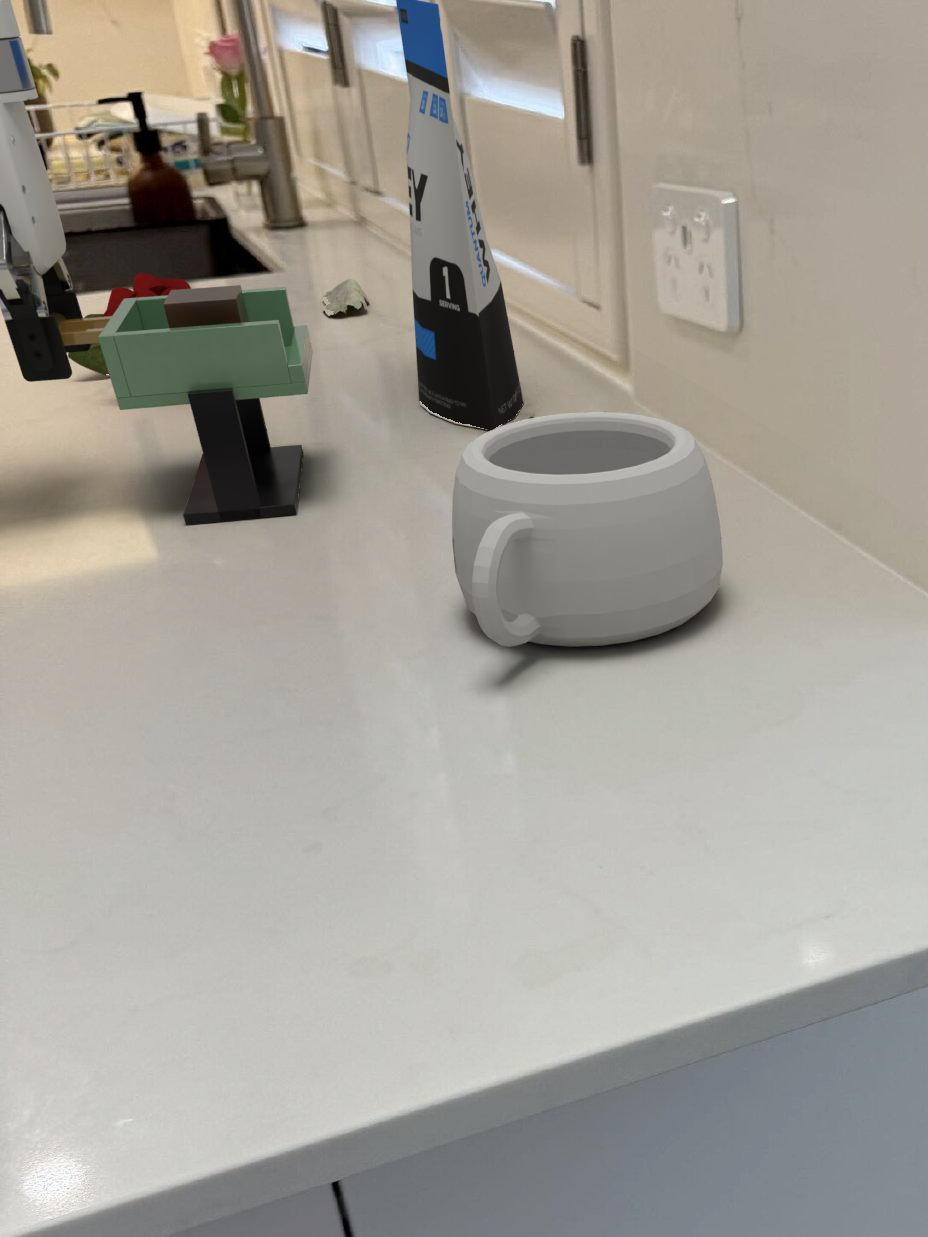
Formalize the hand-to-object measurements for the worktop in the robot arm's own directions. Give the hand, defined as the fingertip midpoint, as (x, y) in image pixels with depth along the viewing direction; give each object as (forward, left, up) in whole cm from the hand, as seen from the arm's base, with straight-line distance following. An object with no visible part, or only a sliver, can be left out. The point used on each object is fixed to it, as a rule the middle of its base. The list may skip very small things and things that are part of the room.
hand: (59, 363), depth 98 cm
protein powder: (+30, +21, -10) cm, 38 cm away
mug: (+33, -33, -10) cm, 48 cm away
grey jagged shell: (+18, +66, -10) cm, 69 cm away
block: (+11, 0, -1) cm, 11 cm away
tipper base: (+11, 0, -10) cm, 15 cm away
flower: (-1, +43, -10) cm, 44 cm away
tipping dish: (+8, 0, -2) cm, 9 cm away
